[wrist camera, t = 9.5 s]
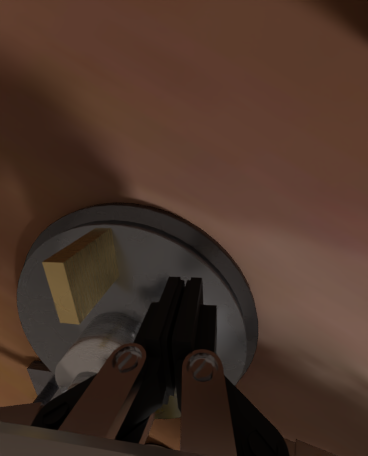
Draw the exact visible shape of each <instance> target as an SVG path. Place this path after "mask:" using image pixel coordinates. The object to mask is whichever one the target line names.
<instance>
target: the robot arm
mask: <svg viewBox="0 0 368 456" xmlns="http://www.w3.org/2000/svg"><path fill="white" fill-rule="evenodd" d="M216 347H217V305H204V304H203V281H202V278H197V277H191V280H187V282H186V285H185V282H184V280H181V278H180V277H169V278H168V281H167V283H166V286H165V288H164V291H163V293H162V296H161V298H160V301H159V302H152V303H151V304H150V306H149V308H148V311H147V313H146V315H145V317H144V320H143V322H142V324H141V326H140V329H139V331H138V333H137V335H136V338H135V340H134V342H133V343H128V344H124V345H122V346H120V347H118V348H117V349H115V350H114V351H113V352H112V354H111V355H110V356H109V358H108V359H107V360H106V362H105V363H104V365H103V366H102V368H101V369H100V370H99V372H98V373H97V374H95V375H93V376H91V377H90V378H88V379H86V380H85V381H83V382H81V383H79V384H78V385H76V386H74V387H73V388H71V389H69V390H67V391H66V392H64V393H62V394H60V395H59V396H57V397H55V398H54V399H52V400H51V401H49V402H48V403H47V404H46V405H43V404H42V402H38V403H30V404H22V405H14V406H6V407H0V456H337V455H335V454H332V453H330V452H327V451H325V450H322V449H320V448H317V447H315V446H312V445H310V444H307V443H305V442H302V441H300V440H297V439H296V442H293V441H290V440H288V439H285V438H283V437H282V435H281V434H280V433H279V432H278V430H277V429H276V428H275V427H274V426H273V425H272V424H271V423H270V422H269V421H268V420H267V419H266V418H265V417H264V416H263V415H262V414H261V413H260V412H259V410H258V409H257V408H256V407H255V406H254V405H253V404H252V403H251V402H250V401H249V400H248V399H247V398H246V397H245V396H244V395H243V394H242V393H241V392H240V391H239V390H238V389H237V388H236V387H235V386H234V385H233V384H232V383H231V382H230V380H229V379H228V378H227V377H226V376H225V375H224V370H223V365H222V362H221V360H220V358H219V357H218V355H216ZM175 388H176V393H177V403H178V409H179V410H180V412H181V440H180V451H178V450H173V449H167V448H161V447H155V446H149V445H144V444H145V442H146V439H147V436H148V434H149V431H150V429H151V426H152V424H153V421H154V417H155V411H156V410H158V409H159V408H160V407H162V404H166V405H168V401H169V396H174V393H175Z"/></svg>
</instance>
